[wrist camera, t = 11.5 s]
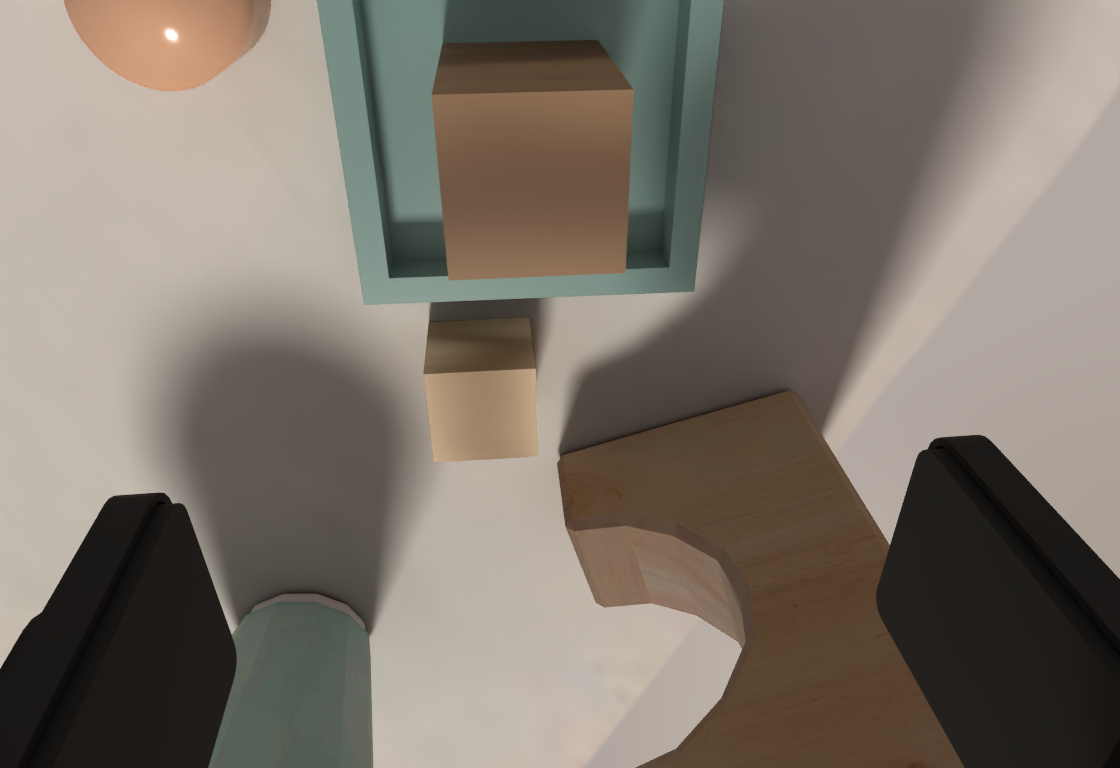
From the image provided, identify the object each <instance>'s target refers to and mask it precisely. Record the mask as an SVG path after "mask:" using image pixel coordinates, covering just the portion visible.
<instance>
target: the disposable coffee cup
mask: <svg viewBox="0 0 1120 768" xmlns="http://www.w3.org/2000/svg"><path fill="white" fill-rule="evenodd" d="M232 638H233V641H234V643H235V647H236V654H237V665H236V673H235V677H234V681H233V684H232V688H231V691H230V695H229V698H228V701H227V705H226V708H225V712H224V715H223V719H222V722H221V726H220V729H219V733H218V736H217V739H216V743H215V746H214V750H213V753H212V757H211V760H210V764H209V767H208V768H373V738H372V698H371V658H370V644H369V634H368V633H367V632H366V631H365V623H364V622H363V621H362V619H361V618H360V617H359V616H358V615H357V614H356V613H355V612H354V611H353V610H352V609H351V608H350V607H349V606H348V605H347V604H344V603H341V602H338V601H336V600H333V599H330V598H327V597H324V596H322V595H319V594H281V595H279V596H276V597H274V598H271V599H269V600H266V601H264V602H261V603H259V604H256V605H255V606H254V608H253V609H252V611H251V612H250V613H249V614H246V616H245V617H244V619H243V620H242V621H241V623H240V624H239V626H238V627H237V629H236V630H235V631H234V633H233V634H232Z"/></svg>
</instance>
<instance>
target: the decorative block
mask: <svg viewBox="0 0 1120 768" xmlns="http://www.w3.org/2000/svg"><path fill="white" fill-rule="evenodd" d="M557 465H558V473H559V480H560V488H561V496H562V503H563V511H564V518H565V526H566V529H567V531H568V534H569V536H570V539H571V541H572V544H573V546H574V549H575V551H576V554H577V556H578V559H579V561H580V564H581V566H582V569H583V571H584V574H585V576H586V579H587V581H588V584H589V587H590V589H591V592H592V594H593V597H594V599H595V602H596V603H597V604H599V605H601V606H603V607H614V606H625V605H636V604H648V603H653V604H657V605H660V606H664V607H668V608H671V609H675V610H679V611H682V612H686V613H690V614H693V615H697V616H698V617H700V618H702V619H703V620H705V621H706V622H708V623H709V624H711V625H713V626H714V627H716V628H717V629H719V630H720V631H722V632H724V633H725V634H727V635H728V636H730V637H731V638H733V639H734V640H736V641H738V642H739V644H740V646H741V647H742V651H741V654H740V656H739V658H738V661H737V663H736V665H735V668H734V670H733V672H732V675H731V677H730V679H729V682H728V684H727V686H726V689H725V691H724V693H723V696H722V698H721V699H720V700H719V701H718V703H717V704H716V705H715V706H714V707H713V708H712V709H711V710H710V712H709V713H708V714H707V715H706V716H705V717H704V718H703V719H702V721H701V722H700V723H699V724H698V725H697V726H696V727H695V728H694V729H693V730H692V732H691V733H690V734H689V735H688V736H687V737H686V738H685V739H684V741H683V742H682V743H681V744H680V745H679V746H678V747H677V748H676V749H675V750H672V751H670V752H668V753H666V754H664V755H662V756H660V757H658V758H655V759H653V760H651V761H649V762H647V763H645V764H643V765H640V766H638V767H636V768H964V766H963V764H962V762H961V760H960V759H959V757H958V755H957V753H956V752H955V750H954V748H953V746H952V744H951V743H950V741H949V739H948V737H947V735H946V734H945V732H944V730H943V728H942V727H941V725H940V723H939V721H938V719H937V718H936V716H935V714H934V712H933V710H932V709H931V707H930V705H929V703H928V702H927V700H926V698H925V696H924V694H923V693H922V691H921V689H920V687H919V685H918V684H917V682H916V680H915V678H914V677H913V675H912V673H911V671H910V669H909V668H908V666H907V664H906V662H905V660H904V659H903V657H902V655H901V653H900V652H899V650H898V648H897V646H896V644H895V643H894V641H893V639H892V637H891V635H890V634H889V632H888V630H887V628H886V626H885V625H884V623H883V621H882V619H881V617H880V615H879V612H878V609H877V603H876V591H877V587H878V584H879V580H880V577H881V574H882V571H883V567H884V564H885V561H886V557H887V554H888V551H889V547H890V545H889V543H888V542H887V540H886V539H885V537H884V535H883V534H882V532H881V530H880V529H879V527H878V526H877V524H876V522H875V521H874V519H873V517H872V516H871V514H870V513H869V511H868V509H867V508H866V506H865V504H864V503H863V501H862V500H861V498H860V496H859V495H858V493H857V491H856V490H855V488H854V487H853V485H852V483H851V482H850V480H849V478H848V477H847V475H846V474H845V472H844V470H843V469H842V467H841V465H840V464H839V462H838V460H837V459H836V457H835V456H834V454H833V452H832V451H831V449H830V447H829V446H828V444H827V442H826V441H825V439H824V438H823V436H822V434H821V433H820V431H819V429H818V428H817V426H816V424H815V423H814V421H813V420H812V418H811V416H810V415H809V413H808V411H807V410H806V408H805V406H804V405H803V403H802V402H801V400H800V398H799V397H798V395H797V394H794V393H792V392H790V391H786V392H782V393H779V394H775V395H772V396H768V397H764V398H761V399H757V400H754V401H750V402H747V403H743V404H740V405H736V406H733V407H729V408H725V409H722V410H718V411H715V412H711V413H708V414H704V415H701V416H697V417H694V418H690V419H687V420H683V421H679V422H676V423H672V424H669V425H665V426H662V427H658V428H655V429H652V430H648V431H645V432H641V433H638V434H634V435H631V436H627V437H624V438H620V439H617V440H614V441H610V442H607V443H603V444H600V445H596V446H593V447H589V448H586V449H582V450H579V451H576V452H572V453H569V454H565V455H562V457H561V458H560V460H559V461H558V463H557Z"/></svg>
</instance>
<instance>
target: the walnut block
mask: <svg viewBox="0 0 1120 768" xmlns="http://www.w3.org/2000/svg"><path fill="white" fill-rule="evenodd" d="M633 93H634V89H633V88H632V86H631V85H630V84H629V82H628V81H627V80H626V78H625V77H624V75H623V74H622V73H621V71H620V70H619V68H618V67H617V66H616V64H615V63H614V62H613V60H612V59H611V57H610V56H609V55H608V53H607V52H606V50H605V49H604V48H603V46H602V45H601V44H600V42H599V41H598V40H566V41H521V42H475V43H442V47H441V52H440V57H439V62H438V66H437V71H436V76H435V81H434V85H433V90H432V106H433V117H434V128H435V139H436V150H437V160H438V171H439V182H440V193H441V204H442V215H443V226H444V237H445V247H446V258H447V269H448V280H449V281H452V280H475V279H498V278H522V277H545V276H568V275H591V274H615V273H626V253H627V230H628V207H629V184H630V161H631V138H632V116H633Z"/></svg>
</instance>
